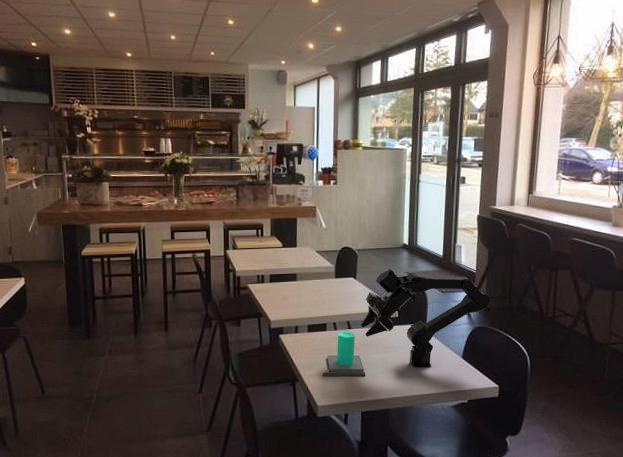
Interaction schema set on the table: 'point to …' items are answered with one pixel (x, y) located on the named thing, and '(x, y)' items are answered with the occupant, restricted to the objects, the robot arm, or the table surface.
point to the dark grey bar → (344, 374)
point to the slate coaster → (336, 367)
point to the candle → (345, 348)
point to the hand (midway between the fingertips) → (363, 330)
